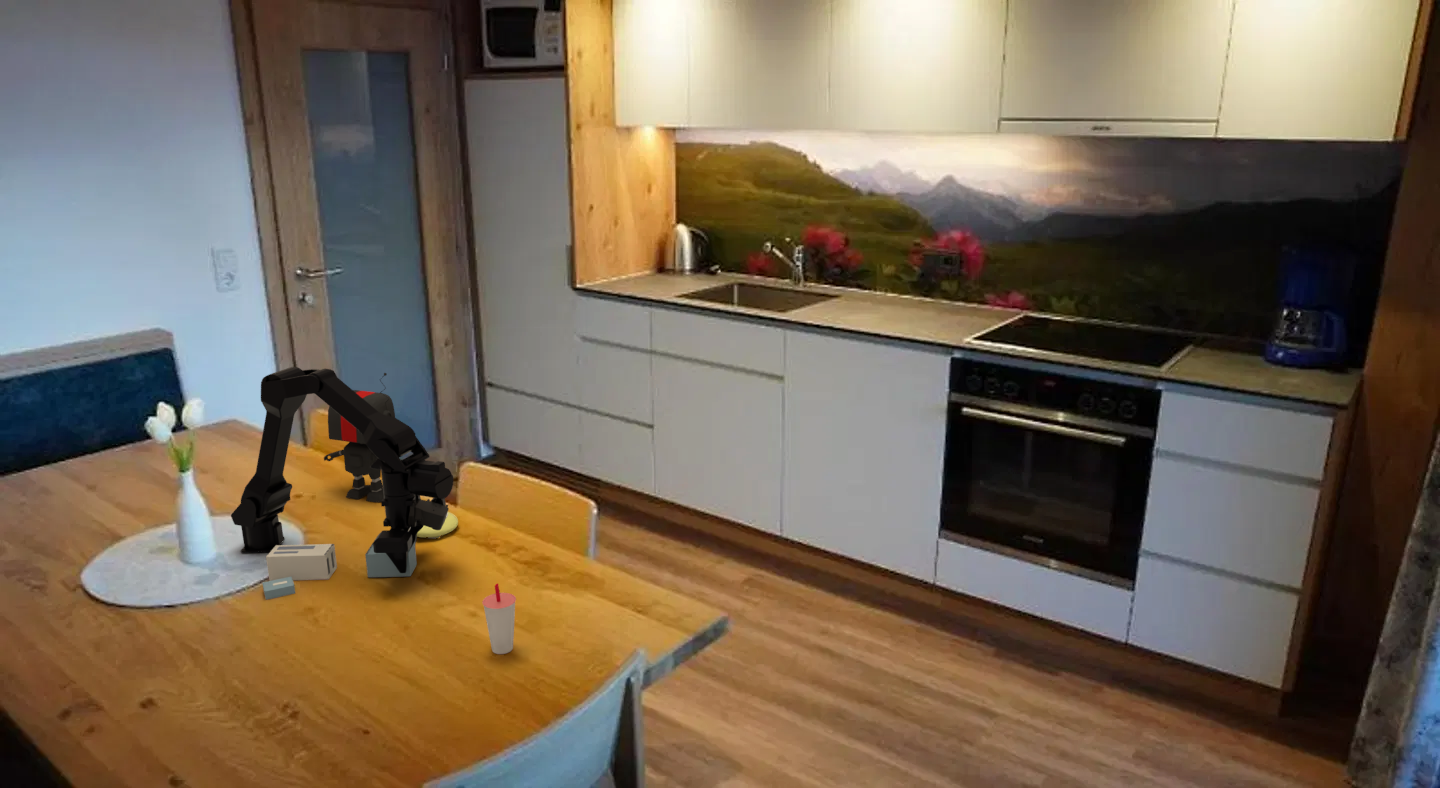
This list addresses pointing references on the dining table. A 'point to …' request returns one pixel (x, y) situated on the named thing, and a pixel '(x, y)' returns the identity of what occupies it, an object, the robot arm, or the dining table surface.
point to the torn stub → (278, 588)
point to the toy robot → (359, 447)
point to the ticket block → (302, 562)
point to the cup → (500, 620)
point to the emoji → (447, 527)
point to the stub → (388, 564)
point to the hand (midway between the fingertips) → (406, 566)
